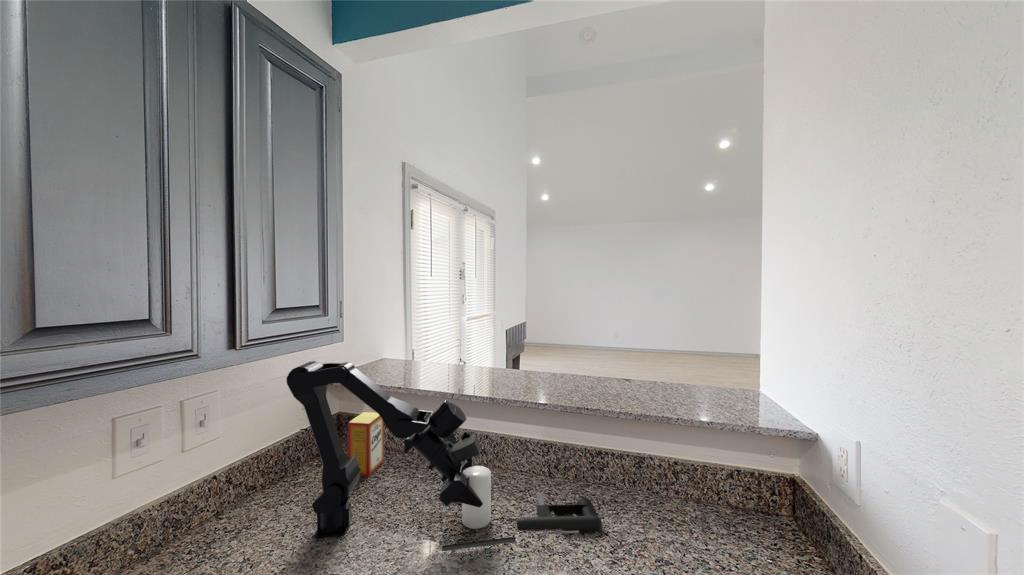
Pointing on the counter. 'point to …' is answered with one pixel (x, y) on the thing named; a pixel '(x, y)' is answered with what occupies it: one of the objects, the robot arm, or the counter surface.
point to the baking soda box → (366, 441)
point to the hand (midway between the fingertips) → (482, 496)
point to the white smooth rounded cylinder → (482, 488)
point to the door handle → (563, 517)
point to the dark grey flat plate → (478, 543)
